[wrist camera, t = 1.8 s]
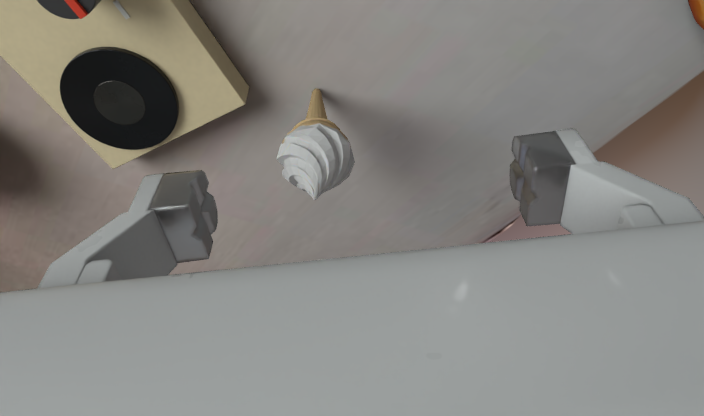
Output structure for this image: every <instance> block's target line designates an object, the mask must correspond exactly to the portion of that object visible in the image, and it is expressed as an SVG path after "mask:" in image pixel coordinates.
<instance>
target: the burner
mask: <svg viewBox="0 0 704 416" xmlns="http://www.w3.org/2000/svg"><path fill="white" fill-rule="evenodd" d="M60 95H61V99H62V103H63V105H64V108H65V109H66V111H67V113H68V115H69V116H70V118H71V119H72V120H73V121H74V123H75V124H76V125H77V126H78V127H79V128H80V129H81V130H82V131H84V132H85V133H86V134H88V135H89V136H90V137H92V138H94V139H95V140H97V141H99V142H101V143H103V144H106V145H109V146H112V147H115V148H120V149H127V150H140V149H146V148H150V147H153V146H155V145H157V144H159V143H161V142H163V141H164V140H165V139H166V138H167V137H168V136H169V135H170V134H171V133H172V131H173V130H174V128H175V125H176V123H177V120H178V116H179V101H178V97H177V94H176V91H175V89H174V87H173V85H172V83H171V82H170V80H169V79H168V77H167V76H166V75H165V74H164V73H163V71H162V70H161V69H160V68H158V67H157V66H156V65H155V64H154V63H152V62H151V61H150V60H148V59H147V58H145V57H143V56H141V55H139V54H137V53H135V52H132V51H129V50H126V49H122V48H118V47H96V48H91V49H88V50H85V51H83V52H81V53H79V54H78V55H77V56H75V57H74V58H73V59H72V60H71V61H70V62H69V63H68V65H67V66H66V67H65V69H64V71H63V73H62V76H61V80H60Z"/></svg>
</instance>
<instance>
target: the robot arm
mask: <svg viewBox="0 0 704 416" xmlns="http://www.w3.org/2000/svg"><path fill="white" fill-rule="evenodd" d="M512 152H513V155H514V157H515V159H514V161H513V162H512V163H511V164H510V186H511V190H512V193H513V196H514V198H515V199H516V200H518V201H519V202H520V209H519V210H520V212H521V214H522V217H523V219H524V221H525V223H526V226H536V225H549V224H560V225H561V226H562V227H563V228H565V229H566V230H568V231H569V232H571V233H572V234H568V235H558V236H548V237H538V238H528V239H519V240H510V241H499V242H489V243H479V244H470V245H460V246H450V247H440V248H430V249H421V250H411V251H401V252H391V253H381V254H372V255H362V256H352V257H342V258H332V259H322V260H313V261H303V262H293V263H283V264H273V265H264V266H254V267H244V268H234V269H224V270H214V271H205V272H195V273H185V274H175V275H168V274H169V273H170V272H171V271H172V270H173V269H174V268H175V267H176V266H177V263H181V262H189V261H197V260H204V259H209V256H210V252H211V248H212V244H213V240H212V237H211V234H212V233H213V232H214V231H215V230H216V227H217V223H218V219H217V207H216V203H215V200H214V197H213V196H212V195H211V194H209V193H208V192H207V188H208V184H209V182H208V180H207V177H206V175H205V173H204V172H203V171H202V170H197V171H186V172H175V173H166V174H164V173H163V174H154V175H147V176H145V177H144V178H143V180H142V182H141V184H140V187H139V189H138V191H137V193H136V195H135V198H134V200H133V202H132V204H131V206H130V209H129V211H128V213H122V214H120V215H119V216H118V217H116V218H115V219H113V220H112V221H110V222H109V223H108V224H106V225H105V226H103V227H102V228H101V229H99V230H98V231H96V232H95V233H94V234H92V235H91V236H89V237H88V238H87V239H85V240H84V241H82V242H81V243H79V244H78V245H77V246H75V247H74V248H72V249H71V250H70V251H68V252H67V253H65V254H64V255H63V256H61V257H60V258H58V259H57V260H56V261H54V262H53V263H51V265H50V266H49V268H48V270H47V272H46V273H45V275H44V277H43V279H42V281H41V282H40V284H39V286H38V288H37V289H28V290H18V291H8V292H0V416H704V216H703V215H702V214H701V212H700V211H699V210H698V209H697V207H696V206H695V205H694V204H693V203H692V201H691V200H690V199H689V198H687V197H685V196H683V195H680V194H678V193H676V192H673V191H671V190H669V189H667V188H664V187H662V186H660V185H657V184H655V183H653V182H650V181H648V180H646V179H643V178H641V177H639V176H637V175H634V174H632V173H630V172H627V171H625V170H623V169H620V168H618V167H616V166H613V165H611V164H609V163H607V162H598V161H597V159H596V158H595V156H594V155H593V153H592V152H591V151H590V149H589V148H588V146H587V145H586V143H585V142H584V141H583V139H582V138H581V136H580V135H579V133H578V132H577V131H576V130H575V129H573V128H571V129H564V130H557V131H552V132H544V133H536V134H529V135H521V136H514V138H513V141H512Z"/></svg>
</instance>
